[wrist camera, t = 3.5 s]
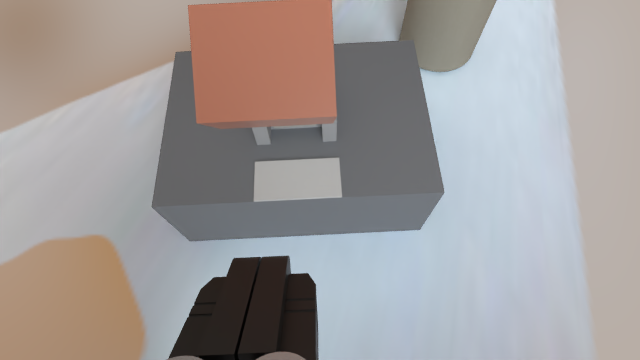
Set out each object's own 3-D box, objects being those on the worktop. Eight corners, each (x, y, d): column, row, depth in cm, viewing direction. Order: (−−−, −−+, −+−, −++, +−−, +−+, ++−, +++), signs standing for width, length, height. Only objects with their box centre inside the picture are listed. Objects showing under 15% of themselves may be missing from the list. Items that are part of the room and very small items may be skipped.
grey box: (189, 241, 34) (135, 192, 24) (203, 109, 40) (164, 28, 30) (419, 229, 34) (455, 175, 24) (398, 99, 40) (419, 15, 30)
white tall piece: (266, 139, 28) (196, 123, 12) (262, 89, 28) (188, 5, 12) (326, 136, 28) (336, 116, 12) (324, 86, 28) (331, -2, 12)
